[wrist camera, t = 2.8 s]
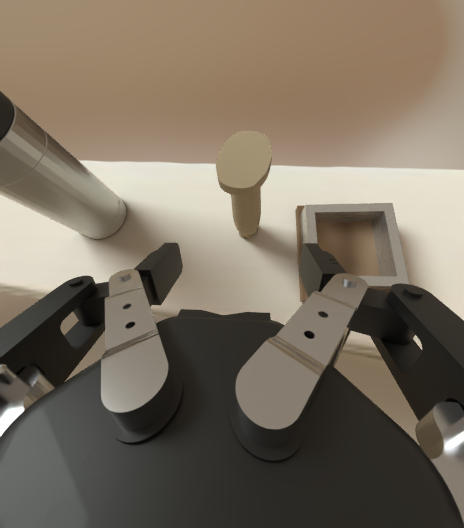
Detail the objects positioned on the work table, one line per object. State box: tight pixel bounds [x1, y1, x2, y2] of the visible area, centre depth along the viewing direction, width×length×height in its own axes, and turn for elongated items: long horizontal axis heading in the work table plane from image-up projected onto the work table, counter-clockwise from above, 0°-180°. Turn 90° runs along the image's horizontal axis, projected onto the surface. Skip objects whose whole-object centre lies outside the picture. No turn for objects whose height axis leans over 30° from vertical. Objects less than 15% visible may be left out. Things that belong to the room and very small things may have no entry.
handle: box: [216, 131, 272, 238], centre depth 24 cm, size 5×6×15 cm
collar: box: [300, 203, 410, 290], centre depth 26 cm, size 11×11×3 cm
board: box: [296, 206, 389, 302], centre depth 28 cm, size 12×15×2 cm
